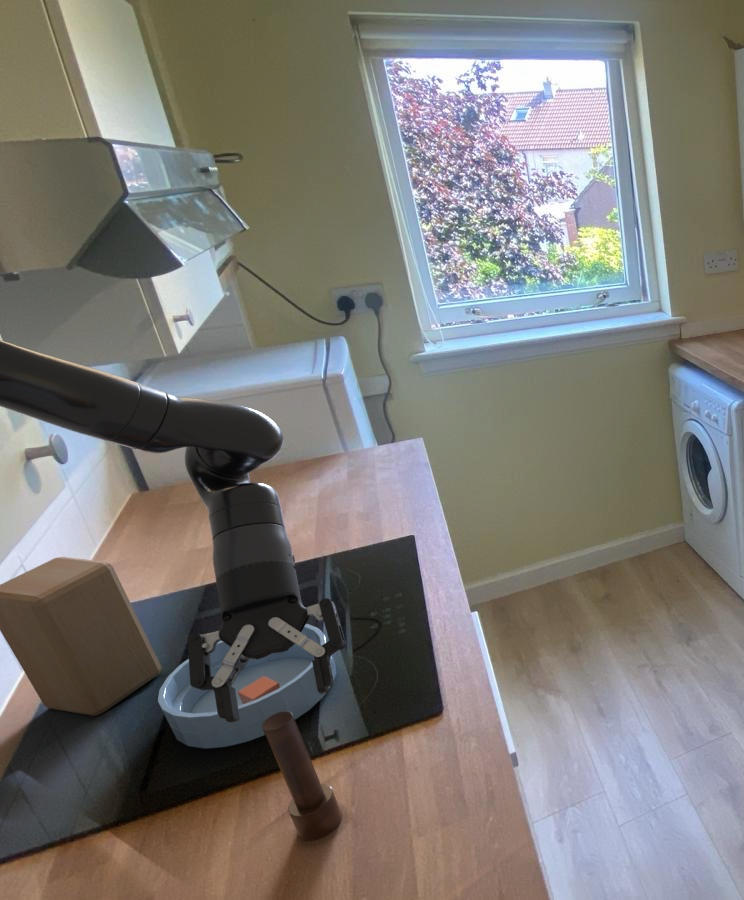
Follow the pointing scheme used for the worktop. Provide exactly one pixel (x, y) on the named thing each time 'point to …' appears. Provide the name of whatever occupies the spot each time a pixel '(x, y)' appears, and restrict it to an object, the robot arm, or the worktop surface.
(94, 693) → the wooden block
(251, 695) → the block
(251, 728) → the bowl
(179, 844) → the worktop surface
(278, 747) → the pestle
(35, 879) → the worktop surface
